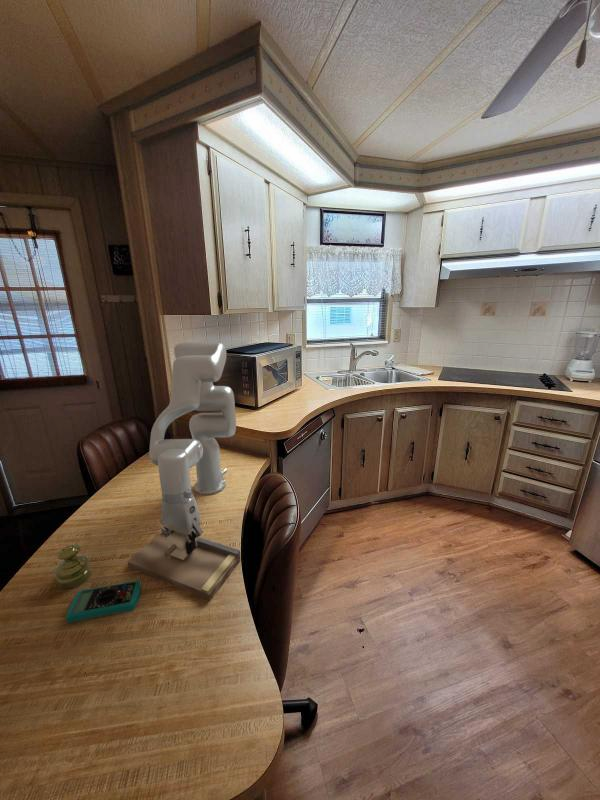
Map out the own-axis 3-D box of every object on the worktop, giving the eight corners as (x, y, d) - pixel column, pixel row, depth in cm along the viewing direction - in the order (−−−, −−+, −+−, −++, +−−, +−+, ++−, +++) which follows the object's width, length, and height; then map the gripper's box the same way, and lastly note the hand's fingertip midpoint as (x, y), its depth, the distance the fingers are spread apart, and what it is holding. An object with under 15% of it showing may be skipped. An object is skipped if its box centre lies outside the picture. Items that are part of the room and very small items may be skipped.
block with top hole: (184, 541, 93) (182, 524, 91) (197, 545, 91) (195, 528, 89) (161, 562, 85) (158, 544, 83) (175, 568, 83) (172, 549, 81)
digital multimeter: (136, 611, 74) (134, 602, 73) (65, 625, 70) (63, 615, 69) (143, 586, 80) (142, 577, 80) (79, 598, 77) (77, 588, 76)
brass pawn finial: (62, 572, 84) (54, 542, 81) (94, 564, 87) (87, 534, 84) (54, 594, 78) (45, 562, 75) (88, 584, 80) (81, 553, 78)
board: (166, 535, 98) (164, 525, 98) (240, 560, 89) (240, 550, 88) (128, 567, 86) (126, 557, 85) (210, 600, 76) (209, 589, 75)
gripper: (211, 493, 84) (215, 547, 89) (164, 480, 90) (170, 532, 95) (192, 508, 78) (198, 566, 83) (142, 493, 84) (151, 548, 89)
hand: (183, 547), depth 89 cm, fingers closed on block with top hole, 5 cm apart
